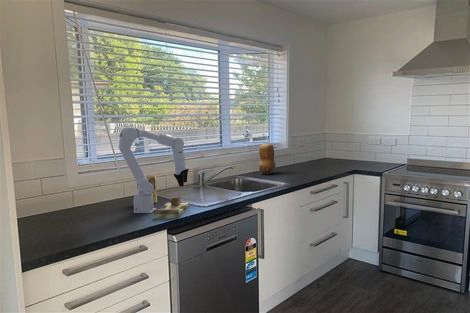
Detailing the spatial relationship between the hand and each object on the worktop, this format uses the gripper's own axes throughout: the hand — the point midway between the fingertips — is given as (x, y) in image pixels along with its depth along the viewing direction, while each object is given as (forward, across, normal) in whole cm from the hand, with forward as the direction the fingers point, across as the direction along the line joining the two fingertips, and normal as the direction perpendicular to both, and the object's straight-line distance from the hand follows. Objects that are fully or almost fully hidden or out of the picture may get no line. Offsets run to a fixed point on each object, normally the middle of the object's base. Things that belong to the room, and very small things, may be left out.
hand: (183, 184), depth 188 cm
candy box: (+10, +5, +23) cm, 26 cm away
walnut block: (+9, -6, +4) cm, 12 cm away
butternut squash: (+23, +96, -42) cm, 108 cm away
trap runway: (+10, -14, +4) cm, 18 cm away
